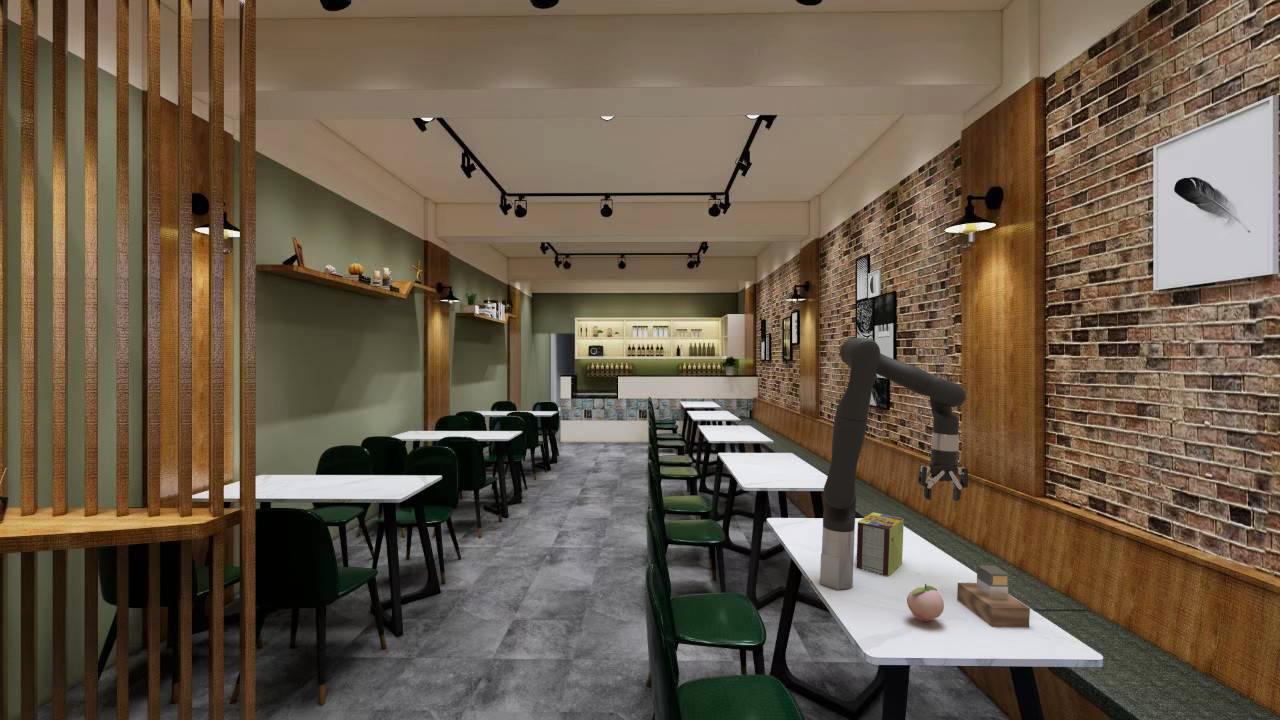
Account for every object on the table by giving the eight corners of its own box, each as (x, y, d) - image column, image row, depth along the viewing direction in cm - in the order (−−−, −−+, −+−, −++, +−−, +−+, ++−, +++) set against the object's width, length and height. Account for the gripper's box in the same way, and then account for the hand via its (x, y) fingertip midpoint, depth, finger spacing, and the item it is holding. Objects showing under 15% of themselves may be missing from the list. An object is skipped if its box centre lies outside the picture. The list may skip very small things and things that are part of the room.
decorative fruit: (931, 633, 149) (933, 594, 149) (901, 620, 156) (902, 583, 155) (949, 623, 155) (951, 586, 154) (919, 611, 161) (921, 575, 161)
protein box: (902, 563, 197) (904, 518, 197) (888, 576, 185) (890, 528, 185) (870, 555, 204) (872, 511, 203) (855, 568, 192) (856, 521, 192)
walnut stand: (1029, 626, 154) (1029, 608, 154) (991, 626, 153) (992, 607, 153) (991, 600, 170) (991, 583, 170) (957, 599, 169) (957, 582, 169)
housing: (993, 590, 165) (994, 565, 164) (1008, 600, 158) (1009, 574, 158) (976, 589, 164) (977, 565, 164) (990, 599, 158) (991, 574, 158)
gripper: (927, 449, 176) (924, 502, 177) (974, 451, 176) (971, 504, 177) (915, 445, 183) (913, 496, 184) (961, 446, 183) (958, 497, 184)
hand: (941, 500), depth 180 cm, fingers open, 8 cm apart
